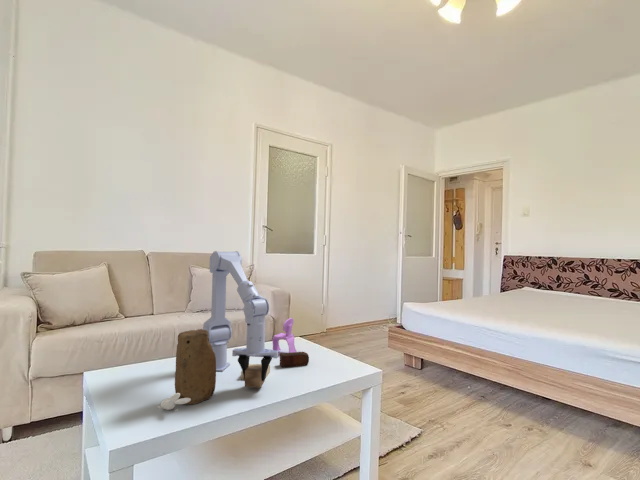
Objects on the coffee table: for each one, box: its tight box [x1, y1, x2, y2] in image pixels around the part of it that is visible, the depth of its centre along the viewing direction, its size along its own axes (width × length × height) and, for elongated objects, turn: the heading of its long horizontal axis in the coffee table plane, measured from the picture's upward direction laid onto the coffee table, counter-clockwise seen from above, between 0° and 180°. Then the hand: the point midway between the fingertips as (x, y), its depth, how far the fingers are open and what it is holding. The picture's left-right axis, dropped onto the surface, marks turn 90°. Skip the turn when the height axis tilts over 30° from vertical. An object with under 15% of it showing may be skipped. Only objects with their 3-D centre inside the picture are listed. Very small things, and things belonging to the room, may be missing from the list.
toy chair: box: [272, 317, 298, 353], centre depth 150 cm, size 8×9×15 cm
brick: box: [279, 351, 310, 369], centre depth 133 cm, size 11×4×5 cm, turn 110°
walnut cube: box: [244, 365, 266, 388], centre depth 111 cm, size 5×5×5 cm
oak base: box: [240, 363, 271, 380], centre depth 122 cm, size 8×8×3 cm
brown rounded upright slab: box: [174, 328, 217, 405], centre depth 103 cm, size 11×8×20 cm
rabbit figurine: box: [157, 393, 191, 413], centre depth 95 cm, size 6×4×8 cm
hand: (254, 379), depth 111 cm, fingers closed on walnut cube, 5 cm apart
